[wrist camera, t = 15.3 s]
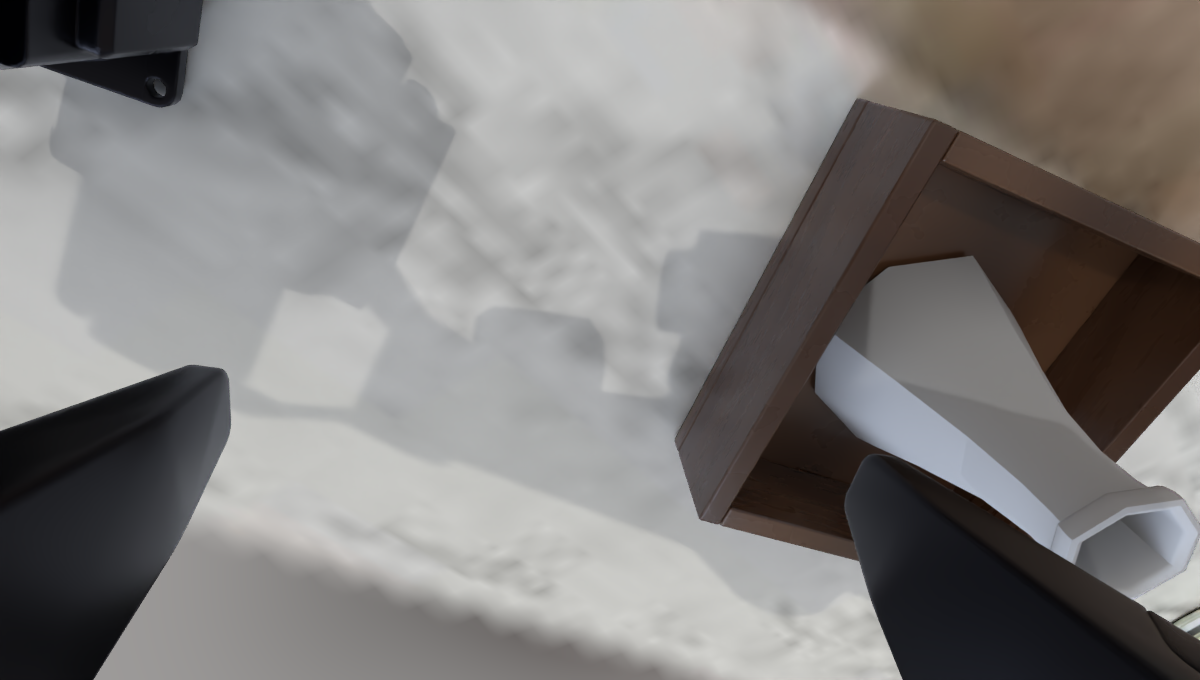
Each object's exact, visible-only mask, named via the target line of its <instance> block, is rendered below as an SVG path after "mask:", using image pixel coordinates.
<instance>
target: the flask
mask: <svg viewBox="0 0 1200 680" xmlns="http://www.w3.org/2000/svg"><path fill="white" fill-rule="evenodd" d="M815 393H816V394H817V395H818V396H819V398H820V399H821V400H822V401H823V402H824V403H825V404H826V405H827V406H828V407H829V408H830V409H831V410H832V411H833V413H834V414H835V415H836V416H837V417H838V418H839V419H840V420H841V421H842V422H843V423H844V424H845V425H846V426H847V428H848V429H849V430H850V431H851V432H852V433H853V434H854V435H855V436H856V437H857V438H859V439H861V440H863V441H865V442H867V443H869V444H871V445H873V446H875V447H877V448H880V449H882V450H884V451H886V452H888V453H891V454H893V455H895V456H897V457H899V458H902V459H904V460H906V461H908V462H910V463H913V464H915V465H917V466H919V467H921V468H923V469H925V470H927V471H929V472H931V473H933V474H935V475H937V476H938V477H940V478H942V479H944V480H946V481H948V482H950V483H952V484H954V485H956V486H958V487H960V488H962V489H964V490H966V491H968V492H969V493H971V494H973V495H975V496H977V497H979V498H981V499H983V500H984V501H985V502H987V503H988V504H989V505H991V506H992V507H993V508H995V509H996V510H997V511H999V512H1000V513H1001V514H1003V515H1004V516H1005V517H1007V518H1008V519H1009V520H1011V521H1012V522H1013V523H1015V524H1016V525H1017V526H1019V527H1020V528H1021V529H1023V530H1024V531H1025V532H1027V533H1028V534H1029V535H1031V536H1032V538H1033V539H1034V540H1035V541H1036V542H1038V543H1040V544H1041V545H1043V546H1045V547H1046V548H1048V549H1050V550H1051V551H1053V552H1055V553H1056V554H1058V555H1059V556H1061V557H1063V558H1064V559H1066V560H1068V561H1069V562H1071V563H1073V564H1074V565H1076V566H1078V567H1079V568H1081V569H1083V570H1084V571H1086V572H1088V573H1089V574H1091V575H1093V576H1094V577H1096V578H1097V579H1099V580H1101V581H1102V582H1104V583H1106V584H1107V585H1109V586H1111V587H1112V588H1114V589H1116V590H1117V591H1119V592H1121V593H1122V594H1124V595H1126V596H1127V597H1129V598H1131V599H1132V600H1134V599H1136V598H1138V597H1139V596H1141V595H1143V594H1145V593H1146V592H1148V591H1150V590H1152V589H1154V588H1155V587H1157V586H1159V585H1161V584H1162V583H1164V582H1166V581H1168V580H1170V579H1171V578H1173V577H1175V576H1177V575H1178V574H1180V573H1182V572H1184V571H1185V570H1186V568H1187V566H1188V564H1189V561H1190V559H1191V557H1192V554H1193V552H1194V550H1195V547H1196V545H1197V543H1198V540H1199V538H1200V524H1199V522H1198V520H1197V519H1196V517H1195V516H1194V514H1193V513H1192V511H1191V509H1190V508H1189V506H1188V505H1187V503H1186V501H1185V500H1184V499H1183V498H1182V497H1181V496H1180V495H1179V494H1177V493H1176V492H1175V491H1173V490H1170V489H1168V488H1166V487H1164V486H1153V487H1147V486H1145V485H1144V484H1142V483H1140V482H1139V481H1137V480H1136V479H1134V478H1133V477H1132V476H1131V475H1130V474H1128V473H1127V472H1126V471H1125V470H1123V469H1122V468H1121V467H1120V466H1118V465H1117V464H1116V463H1115V462H1114V461H1112V460H1111V459H1110V458H1109V457H1107V456H1106V455H1105V454H1104V453H1103V452H1101V451H1100V449H1099V448H1098V447H1097V446H1096V445H1095V444H1094V442H1093V441H1092V440H1091V439H1090V438H1089V437H1088V436H1087V434H1086V433H1085V432H1084V431H1083V430H1082V429H1081V427H1080V426H1079V425H1078V424H1077V423H1076V422H1075V421H1074V419H1073V418H1072V417H1071V416H1070V415H1069V414H1068V412H1067V411H1066V409H1065V408H1064V406H1063V404H1062V403H1061V401H1060V399H1059V398H1058V396H1057V394H1056V393H1055V391H1054V389H1053V388H1052V386H1051V384H1050V382H1049V381H1048V379H1047V377H1046V376H1045V374H1044V372H1043V371H1042V369H1041V367H1040V365H1039V363H1038V361H1037V359H1036V357H1035V355H1034V353H1033V351H1032V349H1031V348H1030V346H1029V344H1028V342H1027V340H1026V338H1025V336H1024V334H1023V332H1022V330H1021V328H1020V326H1019V325H1018V323H1017V321H1016V319H1015V318H1014V316H1013V314H1012V313H1011V311H1010V309H1009V308H1008V307H1007V305H1006V304H1005V302H1004V301H1003V299H1002V298H1001V296H1000V295H999V293H998V292H997V290H996V289H995V287H994V286H993V285H992V283H991V282H990V280H989V279H988V277H987V276H986V274H985V273H984V271H983V270H982V268H981V267H980V265H979V264H978V263H977V261H976V260H975V258H974V257H973V256H967V257H959V258H952V259H944V260H937V261H929V262H922V263H914V264H907V265H899V266H892V267H888V268H887V269H885V270H884V271H883V272H882V273H880V274H879V275H878V276H876V277H875V278H874V279H873V280H871V281H870V282H869V283H868V284H866V285H865V286H864V288H863V289H862V291H861V293H860V294H859V296H858V298H857V299H856V301H855V302H854V304H853V306H852V307H851V309H850V311H849V312H848V314H847V316H846V317H845V319H844V321H843V322H842V324H841V325H840V327H839V329H838V330H837V332H836V334H835V335H834V337H833V339H832V340H831V342H830V343H829V345H828V347H827V348H826V350H825V352H824V353H823V355H822V357H821V358H820V360H819V362H818V363H817V365H816V378H815Z"/></svg>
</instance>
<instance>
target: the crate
mask: <svg viewBox="0 0 1200 680" xmlns="http://www.w3.org/2000/svg"><path fill="white" fill-rule="evenodd" d="M967 256H973V257H974V258H975V260H976V261H977V263H978V264H979V265H980V267H981V268H982V270H983V271H984V273H985V274H986V276H987V277H988V279H989V280H990V282H991V283H992V285H993V286H994V287H995V289H996V290H997V292H998V293H999V295H1000V296H1001V298H1002V299H1003V301H1004V302H1005V304H1006V305H1007V307H1008V308H1009V309H1010V311H1011V313H1012V314H1013V316H1014V318H1015V319H1016V321H1017V323H1018V325H1019V326H1020V328H1021V330H1022V332H1023V334H1024V336H1025V338H1026V340H1027V342H1028V344H1029V346H1030V348H1031V349H1032V351H1033V353H1034V355H1035V357H1036V359H1037V361H1038V363H1039V365H1040V367H1041V369H1042V371H1043V372H1044V374H1045V376H1046V377H1047V379H1048V381H1049V382H1050V384H1051V386H1052V388H1053V389H1054V391H1055V393H1056V394H1057V396H1058V398H1059V399H1060V401H1061V403H1062V404H1063V406H1064V408H1065V409H1066V411H1067V412H1068V414H1069V415H1070V416H1071V417H1072V418H1073V419H1074V421H1075V422H1076V423H1077V424H1078V425H1079V426H1080V427H1081V429H1082V430H1083V431H1084V432H1085V433H1086V434H1087V436H1088V437H1089V438H1090V439H1091V440H1092V441H1093V442H1094V444H1095V445H1096V446H1097V447H1098V448H1099V449H1100V451H1101V452H1103V453H1104V454H1105V455H1106V456H1107V457H1109V458H1110V459H1111V460H1112V461H1114V462H1115V463H1116V462H1117V461H1118V460H1119V459H1120V458H1121V456H1122V455H1123V454H1124V453H1125V452H1126V451H1127V450H1128V449H1129V448H1130V446H1131V445H1132V444H1133V443H1134V442H1135V441H1136V440H1137V439H1138V438H1139V436H1140V435H1141V434H1142V433H1143V432H1144V431H1145V430H1146V429H1147V428H1148V426H1149V425H1150V424H1151V423H1152V422H1153V421H1154V420H1155V419H1156V418H1157V416H1158V415H1159V414H1160V413H1161V412H1162V411H1163V410H1164V409H1165V407H1166V406H1167V405H1168V404H1169V403H1170V402H1171V401H1172V400H1173V399H1174V397H1175V396H1176V395H1177V394H1178V393H1179V392H1180V391H1181V390H1182V389H1183V387H1184V386H1185V385H1186V384H1187V383H1188V382H1189V381H1190V380H1191V379H1192V377H1193V376H1194V375H1195V374H1196V373H1197V372H1198V371H1199V370H1200V243H1198V242H1196V241H1194V240H1192V239H1190V238H1188V237H1185V236H1183V235H1181V234H1179V233H1177V232H1175V231H1173V230H1171V229H1168V228H1166V227H1164V226H1162V225H1160V224H1158V223H1156V222H1153V221H1151V220H1149V219H1147V218H1145V217H1143V216H1141V215H1139V214H1136V213H1134V212H1132V211H1130V210H1128V209H1126V208H1124V207H1121V206H1119V205H1117V204H1115V203H1113V202H1111V201H1109V200H1107V199H1104V198H1102V197H1100V196H1098V195H1096V194H1094V193H1092V192H1090V191H1087V190H1085V189H1083V188H1081V187H1079V186H1077V185H1075V184H1072V183H1070V182H1068V181H1066V180H1064V179H1062V178H1060V177H1058V176H1055V175H1053V174H1051V173H1049V172H1047V171H1045V170H1043V169H1040V168H1038V167H1036V166H1034V165H1032V164H1030V163H1028V162H1026V161H1023V160H1021V159H1019V158H1017V157H1015V156H1013V155H1011V154H1009V153H1006V152H1004V151H1002V150H1000V149H998V148H996V147H994V146H991V145H989V144H987V143H985V142H983V141H981V140H979V139H977V138H974V137H972V136H970V135H968V134H966V133H964V132H962V131H958V130H956V129H955V128H953V127H951V126H949V125H946V124H944V123H942V122H940V121H938V120H935V119H932V118H928V117H925V116H921V115H917V114H914V113H910V112H907V111H903V110H899V109H896V108H892V107H888V106H885V105H881V104H878V103H874V102H870V101H867V100H863V99H857V100H856V101H855V103H854V105H853V107H852V108H851V110H850V112H849V114H848V116H847V118H846V120H845V122H844V123H843V125H842V127H841V129H840V131H839V133H838V135H837V137H836V138H835V140H834V142H833V144H832V146H831V148H830V150H829V152H828V153H827V155H826V157H825V159H824V161H823V163H822V165H821V167H820V168H819V170H818V172H817V174H816V176H815V178H814V180H813V182H812V183H811V185H810V187H809V189H808V191H807V193H806V195H805V197H804V198H803V200H802V202H801V204H800V206H799V208H798V210H797V212H796V213H795V215H794V217H793V219H792V221H791V223H790V225H789V226H788V228H787V230H786V232H785V234H784V236H783V238H782V240H781V241H780V243H779V245H778V247H777V249H776V251H775V253H774V255H773V256H772V258H771V260H770V262H769V264H768V266H767V268H766V270H765V271H764V273H763V275H762V277H761V279H760V281H759V283H758V285H757V286H756V288H755V290H754V292H753V294H752V296H751V298H750V300H749V301H748V303H747V305H746V307H745V309H744V311H743V313H742V315H741V316H740V318H739V320H738V322H737V324H736V326H735V328H734V330H733V331H732V333H731V335H730V337H729V339H728V341H727V343H726V345H725V346H724V348H723V350H722V352H721V354H720V356H719V358H718V360H717V361H716V363H715V365H714V367H713V369H712V371H711V373H710V375H709V376H708V378H707V380H706V382H705V384H704V386H703V388H702V390H701V391H700V393H699V395H698V397H697V399H696V401H695V403H694V405H693V406H692V408H691V410H690V412H689V414H688V416H687V418H686V420H685V421H684V423H683V425H682V427H681V429H680V431H679V433H678V435H677V436H676V438H675V443H676V446H677V450H678V451H679V456H680V459H681V462H682V465H683V469H684V472H685V475H686V478H687V482H688V485H689V488H690V491H691V494H692V498H693V501H694V504H695V507H696V511H697V514H698V517H699V519H700V520H703V521H707V522H711V523H714V524H720V525H722V526H725V527H729V528H733V529H737V530H741V531H744V532H748V533H752V534H756V535H760V536H764V537H768V538H772V539H775V540H779V541H783V542H787V543H791V544H795V545H799V546H803V547H806V548H810V549H814V550H818V551H822V552H826V553H830V554H833V555H837V556H841V557H845V558H849V559H853V560H857V561H859V558H858V555H857V551H856V548H855V544H854V541H853V537H852V534H851V531H850V527H849V524H848V520H847V517H846V514H845V507H844V504H845V497H846V494H847V492H848V489H849V487H850V485H851V483H852V481H853V479H854V477H855V475H856V473H857V471H858V469H859V466H860V464H861V462H862V461H863V459H864V458H865V457H866V456H867V455H870V454H881V455H889V456H894V457H897V456H895V455H893V454H891V453H888V452H886V451H884V450H882V449H880V448H877V447H875V446H873V445H871V444H869V443H867V442H865V441H863V440H861V439H859V438H857V437H856V436H855V435H854V434H853V433H852V432H851V431H850V430H849V429H848V428H847V426H846V425H845V424H844V423H843V422H842V421H841V420H840V419H839V418H838V417H837V416H836V415H835V414H834V413H833V411H832V410H831V409H830V408H829V407H828V406H827V405H826V404H825V403H824V402H823V401H822V400H821V399H820V398H819V396H818V395H817V394H816V393H815V378H816V365H817V363H818V362H819V360H820V358H821V357H822V355H823V353H824V352H825V350H826V348H827V347H828V345H829V343H830V342H831V340H832V339H833V337H834V335H835V334H836V332H837V330H838V329H839V327H840V325H841V324H842V322H843V321H844V319H845V317H846V316H847V314H848V312H849V311H850V309H851V307H852V306H853V304H854V302H855V301H856V299H857V298H858V296H859V294H860V293H861V291H862V289H863V288H864V286H865V285H866V284H868V283H869V282H870V281H871V280H873V279H874V278H875V277H876V276H878V275H879V274H880V273H882V272H883V271H884V270H885V269H887V268H888V267H892V266H899V265H907V264H914V263H922V262H929V261H937V260H944V259H952V258H959V257H967ZM897 458H899V457H897ZM899 459H901V460H902V461H904V462H906V463H907V464H909V465H911V466H912V467H914V468H916V469H917V470H919V471H921V472H922V473H924V474H926V475H927V476H929V477H931V478H932V479H934V480H936V481H937V482H939V483H940V484H942V485H944V486H945V487H947V488H949V489H950V490H952V491H954V492H955V493H957V494H959V495H960V496H962V497H964V498H965V499H967V500H969V501H970V502H972V503H974V504H975V505H977V506H978V507H980V508H982V509H983V510H985V511H987V512H988V513H990V514H992V515H993V516H995V517H997V518H998V519H1000V520H1002V521H1003V522H1005V523H1007V524H1008V525H1010V526H1012V527H1013V528H1015V529H1016V530H1018V531H1020V532H1021V533H1023V534H1025V535H1026V536H1028V537H1030V538H1031V539H1033V538H1032V536H1031V535H1029V534H1028V533H1027V532H1025V531H1024V530H1023V529H1021V528H1020V527H1019V526H1017V525H1016V524H1015V523H1013V522H1012V521H1011V520H1009V519H1008V518H1007V517H1005V516H1004V515H1003V514H1001V513H1000V512H999V511H997V510H996V509H995V508H993V507H992V506H991V505H989V504H988V503H987V502H985V501H984V500H983V499H981V498H979V497H977V496H975V495H973V494H971V493H969V492H968V491H966V490H964V489H962V488H960V487H958V486H956V485H954V484H952V483H950V482H948V481H946V480H944V479H942V478H940V477H938V476H937V475H935V474H933V473H931V472H929V471H927V470H925V469H923V468H921V467H919V466H917V465H915V464H913V463H910V462H908V461H906V460H904V459H902V458H899ZM1033 540H1034V539H1033Z"/></svg>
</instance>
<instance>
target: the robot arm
mask: <svg viewBox="0 0 1200 680" xmlns="http://www.w3.org/2000/svg"><path fill="white" fill-rule="evenodd" d="M202 3H203V0H0V70H5V69H14V68H23V67H32V66H41V67H44V68H47V69H49V70H52V71H55V72H58V73H61V74H64V75H67V76H69V77H72V78H75V79H78V80H81V81H84V82H87V83H89V84H92V85H95V86H98V87H101V88H104V89H106V90H109V91H112V92H115V93H118V94H121V95H124V96H126V97H129V98H132V99H135V100H138V101H141V102H144V103H146V104H149V105H152V106H156V107H166V106H170V105H174V104H176V103H178V102H179V101H180V100H181V97H182V95H183V88H184V79H185V70H186V62H187V53H188V49H190V48H192V47H194V46H196V45H197V43H198V37H199V28H200V20H201V11H202ZM155 79H158V80H160V81H161V82H162V83H163V84H164V85H165V87H166V94H165V96H162V95H160V94H159V93H157V91H156V90H155V88H154V81H155ZM230 429H231V412H230V393H229V379H228V376H227V373H226V372H225V371H224V370H223V369H220V368H214V367H207V366H199V365H188V366H184V367H182V368H179V369H176V370H173V371H170V372H167V373H165V374H162V375H159V376H156V377H153V378H150V379H147V380H145V381H142V382H139V383H136V384H133V385H130V386H127V387H125V388H122V389H119V390H116V391H113V392H110V393H107V394H105V395H102V396H99V397H96V398H93V399H90V400H87V401H85V402H82V403H79V404H76V405H73V406H70V407H68V408H65V409H62V410H59V411H56V412H53V413H50V414H48V415H45V416H42V417H39V418H36V419H33V420H30V421H28V422H25V423H22V424H19V425H16V426H13V427H10V428H8V429H5V430H2V431H0V680H93V679H94V678H95V676H96V675H97V673H98V672H99V670H100V668H101V667H102V665H103V663H104V662H105V660H106V659H107V657H108V656H109V654H110V652H111V651H112V649H113V648H114V646H115V644H116V643H117V641H118V640H119V638H120V636H121V635H122V633H123V632H124V630H125V628H126V627H127V625H128V624H129V622H130V620H131V619H132V617H133V616H134V614H135V612H136V611H137V609H138V608H139V606H140V604H141V603H142V601H143V600H144V598H145V596H146V595H147V593H148V592H149V590H150V588H151V587H152V585H153V584H154V582H155V581H156V579H157V577H158V576H159V574H160V572H161V571H162V569H163V568H164V566H165V565H166V563H167V561H168V560H169V558H170V556H171V555H172V553H173V551H174V550H175V548H176V546H177V545H178V543H179V541H180V539H181V537H182V535H183V533H184V531H185V529H186V527H187V525H188V523H189V521H190V519H191V517H192V515H193V513H194V511H195V508H196V506H197V504H198V502H199V500H200V498H201V496H202V494H203V491H204V489H205V487H206V485H207V483H208V481H209V479H210V477H211V474H212V472H213V470H214V468H215V466H216V464H217V462H218V460H219V457H220V455H221V453H222V451H223V449H224V447H225V445H226V442H227V440H228V437H229V434H230ZM844 507H845V514H846V517H847V520H848V524H849V527H850V531H851V534H852V537H853V541H854V544H855V548H856V551H857V555H858V558H859V561H860V565H861V568H862V572H863V575H864V578H865V582H866V585H867V589H868V592H869V595H870V598H871V601H872V604H873V607H874V609H875V612H876V615H877V617H878V620H879V622H880V625H881V627H882V630H883V632H884V635H885V637H886V640H887V642H888V645H889V647H890V650H891V652H892V654H893V657H894V659H895V662H896V664H897V667H898V669H899V672H900V674H901V677H902V679H903V680H1200V640H1199V639H1197V638H1195V637H1194V636H1192V635H1190V634H1189V633H1187V632H1185V631H1184V630H1182V629H1180V628H1179V627H1177V626H1175V625H1174V624H1172V623H1170V622H1169V621H1167V620H1165V619H1164V618H1162V617H1160V616H1159V615H1157V614H1156V613H1154V612H1152V611H1146V609H1145V608H1144V607H1143V606H1142V605H1140V604H1139V603H1137V602H1135V601H1134V600H1132V599H1131V598H1129V597H1127V596H1126V595H1124V594H1122V593H1121V592H1119V591H1117V590H1116V589H1114V588H1112V587H1111V586H1109V585H1107V584H1106V583H1104V582H1102V581H1101V580H1099V579H1097V578H1096V577H1094V576H1093V575H1091V574H1089V573H1088V572H1086V571H1084V570H1083V569H1081V568H1079V567H1078V566H1076V565H1074V564H1073V563H1071V562H1069V561H1068V560H1066V559H1064V558H1063V557H1061V556H1059V555H1058V554H1056V553H1055V552H1053V551H1051V550H1050V549H1048V548H1046V547H1045V546H1043V545H1041V544H1040V543H1038V542H1036V541H1035V540H1033V539H1031V538H1030V537H1028V536H1026V535H1025V534H1023V533H1021V532H1020V531H1018V530H1016V529H1015V528H1013V527H1012V526H1010V525H1008V524H1007V523H1005V522H1003V521H1002V520H1000V519H998V518H997V517H995V516H993V515H992V514H990V513H988V512H987V511H985V510H983V509H982V508H980V507H978V506H977V505H975V504H974V503H972V502H970V501H969V500H967V499H965V498H964V497H962V496H960V495H959V494H957V493H955V492H954V491H952V490H950V489H949V488H947V487H945V486H944V485H942V484H940V483H939V482H937V481H936V480H934V479H932V478H931V477H929V476H927V475H926V474H924V473H922V472H921V471H919V470H917V469H916V468H914V467H912V466H911V465H909V464H907V463H906V462H904V461H902V460H901V459H899V458H897V457H894V456H889V455H881V454H870V455H867V456H866V457H865V458H864V459H863V461H862V462H861V464H860V466H859V469H858V471H857V473H856V475H855V477H854V479H853V481H852V483H851V485H850V487H849V489H848V492H847V494H846V497H845V504H844Z"/></svg>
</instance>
